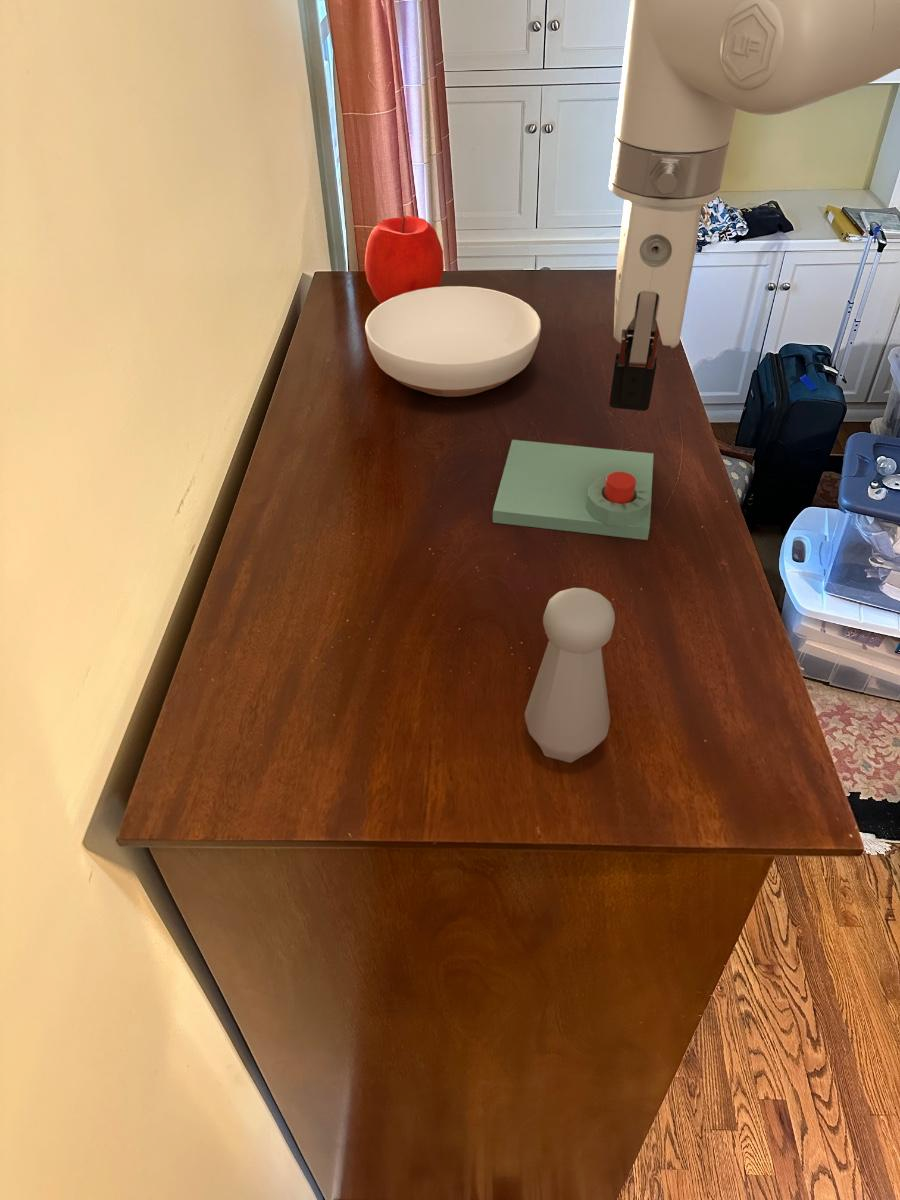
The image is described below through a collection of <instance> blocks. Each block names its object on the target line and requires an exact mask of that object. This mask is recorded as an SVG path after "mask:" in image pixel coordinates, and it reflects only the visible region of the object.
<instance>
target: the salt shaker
mask: <svg viewBox="0 0 900 1200" xmlns="http://www.w3.org/2000/svg"><path fill="white" fill-rule="evenodd" d="M615 623H616V616H615V611H614V608H613V604H612V603H611V602H610V601H609V600H608V599H607V598H606V597H605V596H603V594H601V593H600V592H597V591H594V590H593V589H589V588H587V587H571V588H566V589H563V590H560V591H558V592H556V593H555V594H554V595H553V596H551V597H550V598H549V600H548V602H547V605H546V607H545V610H544V613H543V616H542V625H543V628H544V632H545V634H546V637H547V639H548V642H547V646H546V647H545V651H544V655H543V657H542V660H541V662H540V667H539V669H538V672H537V674H536V675H537V676H536V677H535V681H534V684H533V687H532V690H531V692H530V696H529V699H528V701H527V705H526V708H525V711H524V718H525V723H526V728H527V732H528V734H529V736H530V737H531V738H532V739H533V740H534V741H535V743H536V744H537V745H538V746H539V748H540V750H541V751H542V754H543V756H544V757H546V758H551V759H554V760H557V761H562V762H565V763H570V764H572V763H574V762H576V761H577V760H579V759H580V758H582V757H584V756H585V755H588V754H589V753H591V752H592V751H594V749H595V748H596V747H597V746H599V745H600V744H601V743H602V742H603V741H604V740H605V739H606V737H607V736H608V732H609V729H610V728H609V727H610V724H611V714H610V706H609V698H608V689H607V683H606V681H607V680H606V674H605V667H604V666H605V665H604V657H603V651H602V648H603V647H604V646H605V645H606V644H608V643H609V641H610V640H611V638H612V634H613V630H614V626H615Z"/></svg>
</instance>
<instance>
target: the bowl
mask: <svg viewBox="0 0 900 1200" xmlns="http://www.w3.org/2000/svg"><path fill="white" fill-rule="evenodd" d="M541 323H542V322H541V318H540V316H539V314H538V313H537V311H536V310H535V309H534V308H533V307H532V306H531V305H530V304H529V303H528V302H525V301H524V300H522V299H521V298H518V297H516V296H514V295H511V294H508V293H506V292H502V291H500V290H499V291H498V290H495V289H489V288H484V287H477V286H466V285H447V286H446V285H445V286H440V287H432V288H426V289H420V290H415V291H411V292H407V293H403V294H401V295H398V296H396V297H393V298H391V299H389V300H387V301H385V302H383V303H382V304H380V303H379V304H378V305H377V306H376V307H375V308H374V309H373V310H372V311H371V312H370V313H369V315H368V316H367V318H366V321H365V323H364V324H365V325H364V329H365V335H366V339H367V344H368V349H369V351H370V353H371V355H372V357H373V360H374V361H375V362H376V364H377V366H378V367H379V369H381V370H382V371H383V372H384V373H385V374H386V375H388V376H390V377H391V378H392V379H394V380H395V381H397V382H398V383H400V384H402V385H404V386H405V387H407V388H410V389H412V390H416V391H418V392H423V393H424V394H425V393H426V394H429V395H433V396H438V397H445V398H446V397H447V398H457V397H459V398H460V397H467V396H473V395H478V394H481V393H483V392H485V391H488V390H489V391H490V390H492V389H495V388H498V387H499V386H501V385H503V384H505V383H506V382H509V381H510V380H511V379H512V378H514V377H515V376H516V375H519V373H521V372H522V371H523V370H525V368H526V367H527V366H528V365H529V364H530V362H531V360H532V359H533V357H534V354H535V351H536V349H537V346H538V344H539V341H540V335H541V330H542V324H541Z"/></svg>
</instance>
